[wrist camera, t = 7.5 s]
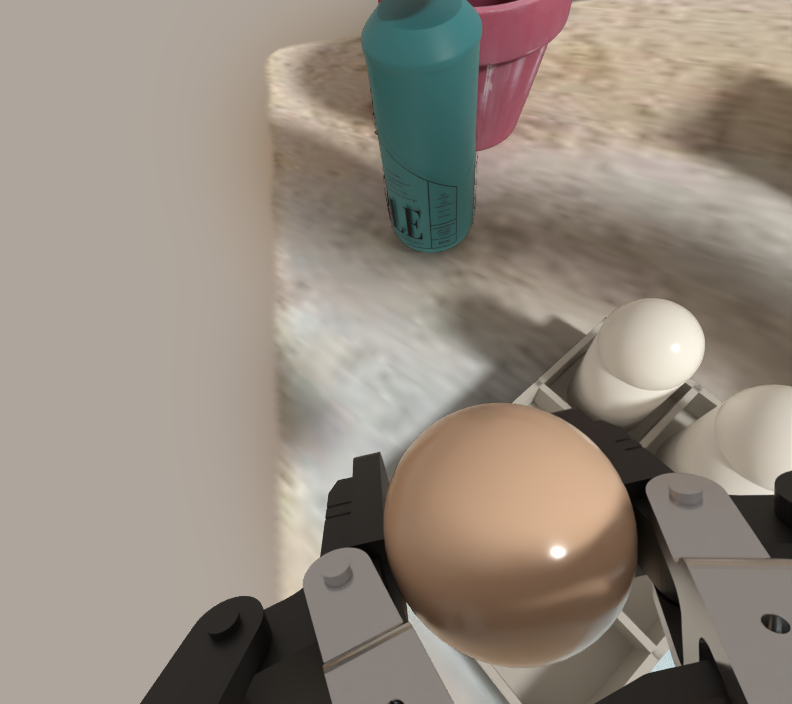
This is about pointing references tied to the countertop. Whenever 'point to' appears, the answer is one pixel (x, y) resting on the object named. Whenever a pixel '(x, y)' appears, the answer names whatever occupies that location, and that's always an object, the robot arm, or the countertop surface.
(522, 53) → the plant pot
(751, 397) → the cream egg
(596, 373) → the cream egg
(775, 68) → the countertop surface
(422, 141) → the beverage bottle
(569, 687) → the carton
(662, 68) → the countertop surface
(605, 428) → the robot arm
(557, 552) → the tan rounded cylinder
